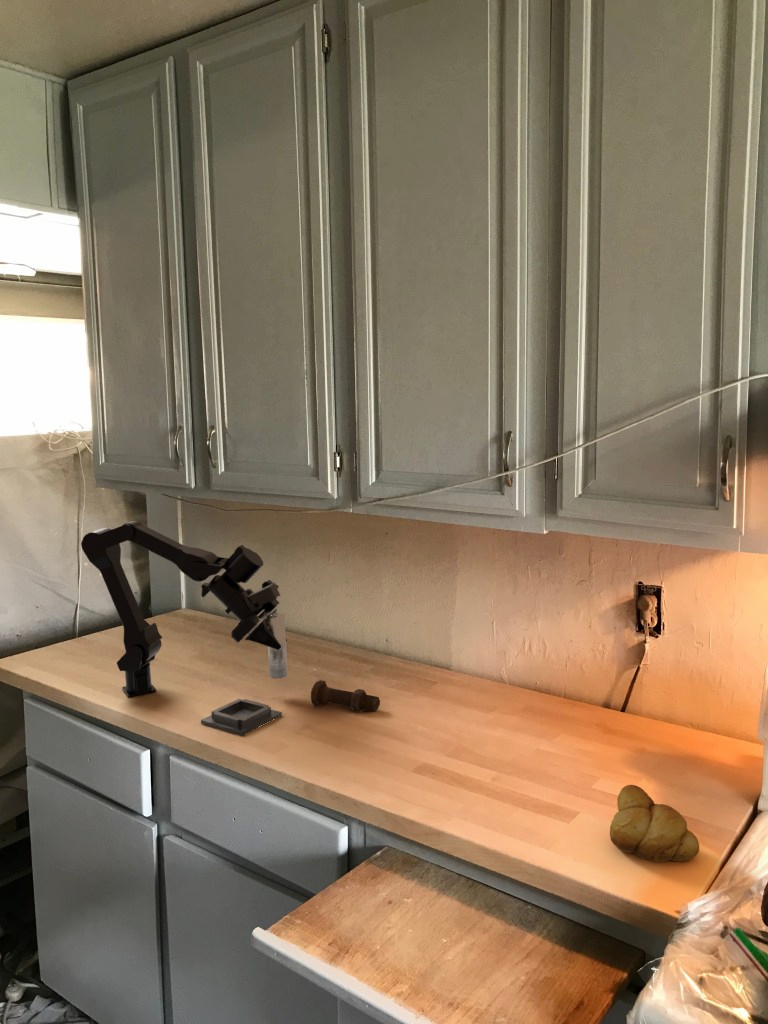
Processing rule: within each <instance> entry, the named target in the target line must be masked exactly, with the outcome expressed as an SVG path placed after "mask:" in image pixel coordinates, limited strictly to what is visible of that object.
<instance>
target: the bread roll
mask: <svg viewBox="0 0 768 1024" xmlns="http://www.w3.org/2000/svg"><path fill="white" fill-rule="evenodd" d="M616 800H617V804H616V805H617V811H618V812H616V813H615V814H614V815H613V819H612V820H611V823H610V826H609V839H610V841H611V843H612V844H613V845H614V846H615V847H616V848H618V850H620V851H622V852H624V853H629V854H632V853H634V854H635V855H637V857H640V858H643V859H645V860H649V861H652V862H656V863H659V862H666V861H675V862H683V861H684V862H685V861H688V860H692V859H693V858H695V857H696V856H698V854H699V852H700V843H699V839H698V837H697V836H696V835H695V834H694V833H693V832H692V830H691V831H690V830H689V829H688V823H687V821H686V819H685V818H684V816H683V815H682V814H681V813H680V812H679V811H677V810H676V809H675V808H673V807H672V806H671V805H668V804H664V803H655V801H654V800H653V799H652V797H651V796H650V795H649V794H648V793H647V792H646V791H645V790H644V789H643V788H642V787H640V786H638V785H635V784H628V785H625V786H623V787H622V788H621V790H620V791H619V793H618V795H617V799H616Z"/></svg>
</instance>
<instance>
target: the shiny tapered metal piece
mask: <svg viewBox="0 0 768 1024" xmlns="http://www.w3.org/2000/svg"><path fill="white" fill-rule="evenodd" d="M267 628H268V629H269V631H270V632H271V633H272V634H273V636H274V637H275V638H276V639H277V641H278V642H279V643H280V645H281V648H280V649H279V650H277V649H274V648H271V647H268V646H267V651H268V653H267V655H268V674H269V677H270V679H271V678H272V679H282V678H286V677H287V676H288V664H287V641H286V639H287V638H286V637H287V636H286V617H285V614H284V613H281V612H276V613H272V614H268V615H267Z"/></svg>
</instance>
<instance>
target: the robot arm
mask: <svg viewBox="0 0 768 1024" xmlns="http://www.w3.org/2000/svg"><path fill="white" fill-rule="evenodd" d="M127 541H129V542H130V543H133V544H135V545H137V546H139V547H141V548H144V549H145V550H147V551H149V552H151V553H153V554H155V555H156V556H159V557H161V558H163V559H165V560H167V561H169V562H170V563H172V564H174V565H175V566H176V567H177V568H178V569H179V571H180V572H181V573H183V574H184V575H185V576H187V577H188V578H189V579H191V580H192V581H194V582H203V581H205V580H208V579H209V578H211V577H212V576H214V577H213V578H211V580H209V582H204V583H202V584H201V585H200V587H201V597H202V598H205V597H206V596H208V595H209V594H210V593H211V594H212V595H213V596H214V597H215V598H216V599H217V600H218V602H220V603H221V604H222V605H223V606H224V607H225V608H226V609H225V611H224V612H225V613H226V614H227V615H229V614H230V613H231V614H232V615H233V616H234V617H235V618H237V620H238V621H239V622H238V623H237V625H236V626H235V628H233V630H232V631H230V633H231V639H232V640H233V641H235V642H236V643H237V644H239V643H240V642H241V641H242V640H243V639H244V640H245V641H250V642H254V643H257V644H260V645H263V646H266V647H267V648H268V647H271V648H274V649H277V650H279V649H280V648H281V645H280V643H279V642H278V641H277V639H276V638H275V637H274V636H273V634H272V633H271V632H270V631H269V629H268V628H267V615H268V614H272V613H277V608H276V607H278V606H279V604H280V602H279V600H278V597H280V596H281V593H280V591H279V588H280V587H279V585H278V584H276V582H273V581H272V580H270V579H267V580H265V581H264V582H262V583H261V588H259V589H258V590H256V591H253V590H252V589H251V588H247V589H245V588H244V587H243V586H242V585H241V584H240V583H243V584H246V583H248V582H249V581H250V579H252V577H254V575H256V574H257V573H258V571H259V570H260V569H261V568H262V567H263V566H264V560H263V559H262V557H261V556H260V555H259V554H258V553H257V552H256V551H253V550H251V549H250V548H247V547H245V546H244V544H241V545H239V546H237V547H236V548H235V550H234V552H233V553H232V554H231V555H230V556H229V557H223V556H217V554H215V553H214V552H212V551H209V550H205V549H203V548H198V547H193V546H192V547H191V546H187V545H184V544H182V543H180V542H178V541H176V540H175V539H172V538H170V537H168V536H166V535H164V534H162V533H160V532H158V531H156V530H154V529H152V528H150V527H148V526H146V525H144V524H142V522H140V521H139V520H131V521H129V522H126V523H123V524H122V525H121V526H117V527H115V528H113V529H111V528H109V527H103V528H102V527H101V528H98V529H96V530H94V531H91V532H88V533H86V534H85V535H84V536H83V537H82V540H81V542H80V543H81V544H80V545H81V549H82V552H83V554H84V555H85V556H86V559H87V560H88V561H89V563H91V564H92V565H93V566H94V567H95V568H97V570H98V571H99V572H100V575H101V576H102V579H103V581H104V583H105V586H106V589H107V591H108V594H109V596H110V599H111V600H112V603H113V605H114V607H115V610H116V613H117V615H118V617H119V620H120V621H121V624H122V627H123V640H122V641H123V647H124V649H125V653H123V654H122V656H121V657H120V658H118V659H119V660H117V661H116V665H117V668H118V670H119V671H120V672H124V676H125V686H122V689H121V690H122V691H123V692H124V693H125V695H126V696H127V697H135V696H140V695H145V694H149V693H154V692H157V688H156V687H155V686H154V685H153V684H152V675H151V662H152V661H154V660H155V658H156V655H157V654H158V653H159V652H160V650H161V648H162V640H161V639H163V636H162V634H161V633H160V632H159V630H158V629H159V628H158V625H157V623H156V622H153V623H151V624H150V623H149V622H148V621H146V620H145V618H144V616H143V614H142V612H141V609H140V606H139V605H138V602H137V600H136V599H137V598H135V595H134V592H133V590H132V587H131V585H130V583H129V579H128V577H127V576H126V573H125V571H124V568H123V566H122V563H121V559H122V558H121V555H122V553H121V552H122V549H121V544H122V543H124V542H127ZM224 570H225V571H224ZM222 571H224V572H223V573H222V574H221V575H220V574H219V573H221V572H222ZM246 635H247V636H246ZM245 636H246V638H245ZM287 641H288V640H287V638H286V642H287Z"/></svg>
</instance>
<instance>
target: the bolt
mask: <svg viewBox="0 0 768 1024" xmlns="http://www.w3.org/2000/svg"><path fill="white" fill-rule="evenodd" d="M310 702H311V704H312V706H314V707H317V708H319V707H321V706H322V705H323V704H324V703H325V704H333V705H338V706H344V707H350V708H351V710H352V711H353V712H354V711H355V712H354V713H361V712H363V711H364V710H365V711H372V712H376V711H378V709H379V707H380V706H381V700H380V697H379V696H377V695H370V694H367V693H366V691H365V690H364V689H363V688H362V689H361V688H359V689H356V690H354V691H347V690H343V689H337V688H332V687H330V686H329V687H328V685H327V682H326V680H321V679H320V680H318V681H316V682H315V683H314V684H313V686H312V688H311V691H310ZM360 711H361V712H360Z"/></svg>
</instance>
